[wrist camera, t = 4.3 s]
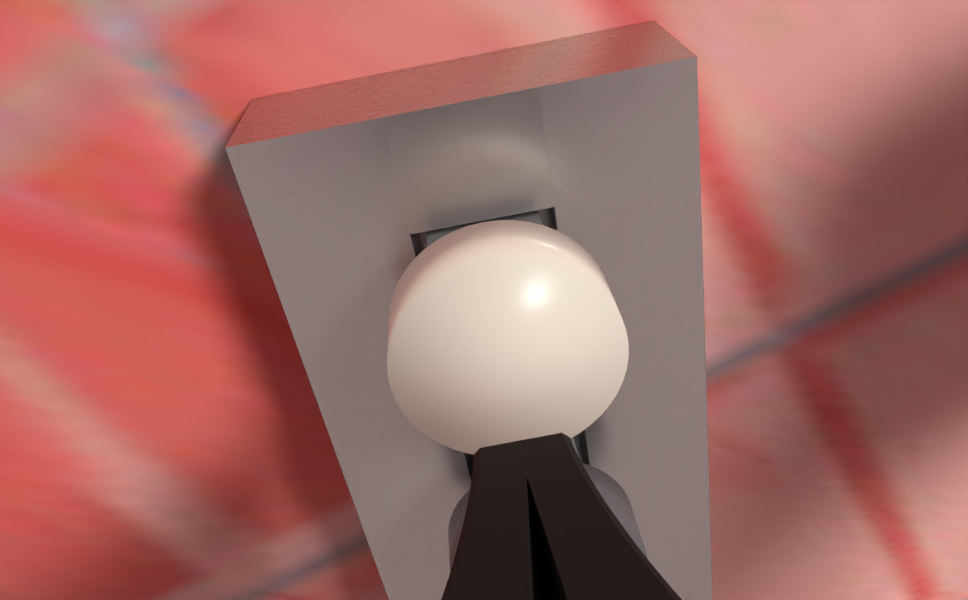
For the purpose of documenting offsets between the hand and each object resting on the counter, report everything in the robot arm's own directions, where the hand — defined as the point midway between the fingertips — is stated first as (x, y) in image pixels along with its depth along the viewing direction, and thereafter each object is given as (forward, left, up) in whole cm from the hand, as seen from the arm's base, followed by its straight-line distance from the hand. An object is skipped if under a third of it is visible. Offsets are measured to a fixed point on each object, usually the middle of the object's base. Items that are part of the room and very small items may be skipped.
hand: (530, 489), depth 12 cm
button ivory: (0, 0, -7) cm, 7 cm away
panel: (0, +6, -9) cm, 11 cm away
